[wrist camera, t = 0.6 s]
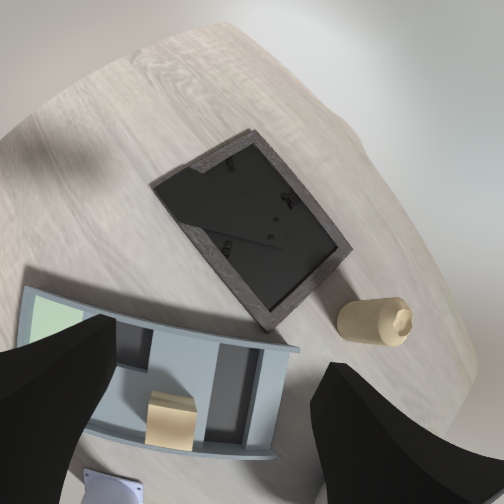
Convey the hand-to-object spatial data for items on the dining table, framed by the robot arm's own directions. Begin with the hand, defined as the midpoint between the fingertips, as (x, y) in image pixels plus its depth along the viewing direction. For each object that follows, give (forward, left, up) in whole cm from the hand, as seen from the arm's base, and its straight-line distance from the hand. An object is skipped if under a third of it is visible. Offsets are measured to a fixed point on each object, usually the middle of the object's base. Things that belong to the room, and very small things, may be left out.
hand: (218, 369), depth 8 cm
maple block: (-10, +1, -20) cm, 23 cm away
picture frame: (+14, -6, -23) cm, 28 cm away
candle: (+4, -21, -23) cm, 31 cm away
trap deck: (-7, +4, -22) cm, 24 cm away
